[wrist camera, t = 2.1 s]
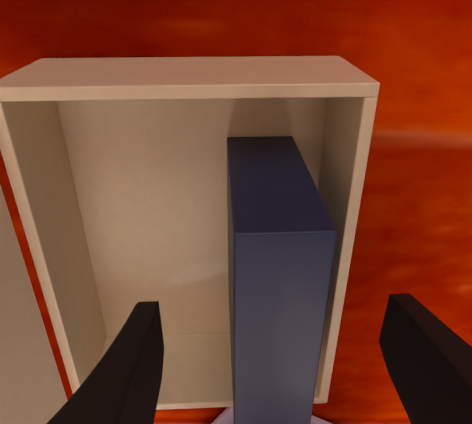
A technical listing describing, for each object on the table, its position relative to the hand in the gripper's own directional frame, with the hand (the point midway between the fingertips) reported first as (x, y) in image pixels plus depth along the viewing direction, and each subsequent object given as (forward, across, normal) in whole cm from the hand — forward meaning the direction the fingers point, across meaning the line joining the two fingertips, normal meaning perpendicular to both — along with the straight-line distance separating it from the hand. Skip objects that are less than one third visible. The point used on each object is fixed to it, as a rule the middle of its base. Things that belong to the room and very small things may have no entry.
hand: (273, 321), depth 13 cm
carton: (+6, +2, 0) cm, 7 cm away
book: (+6, 0, 0) cm, 6 cm away
